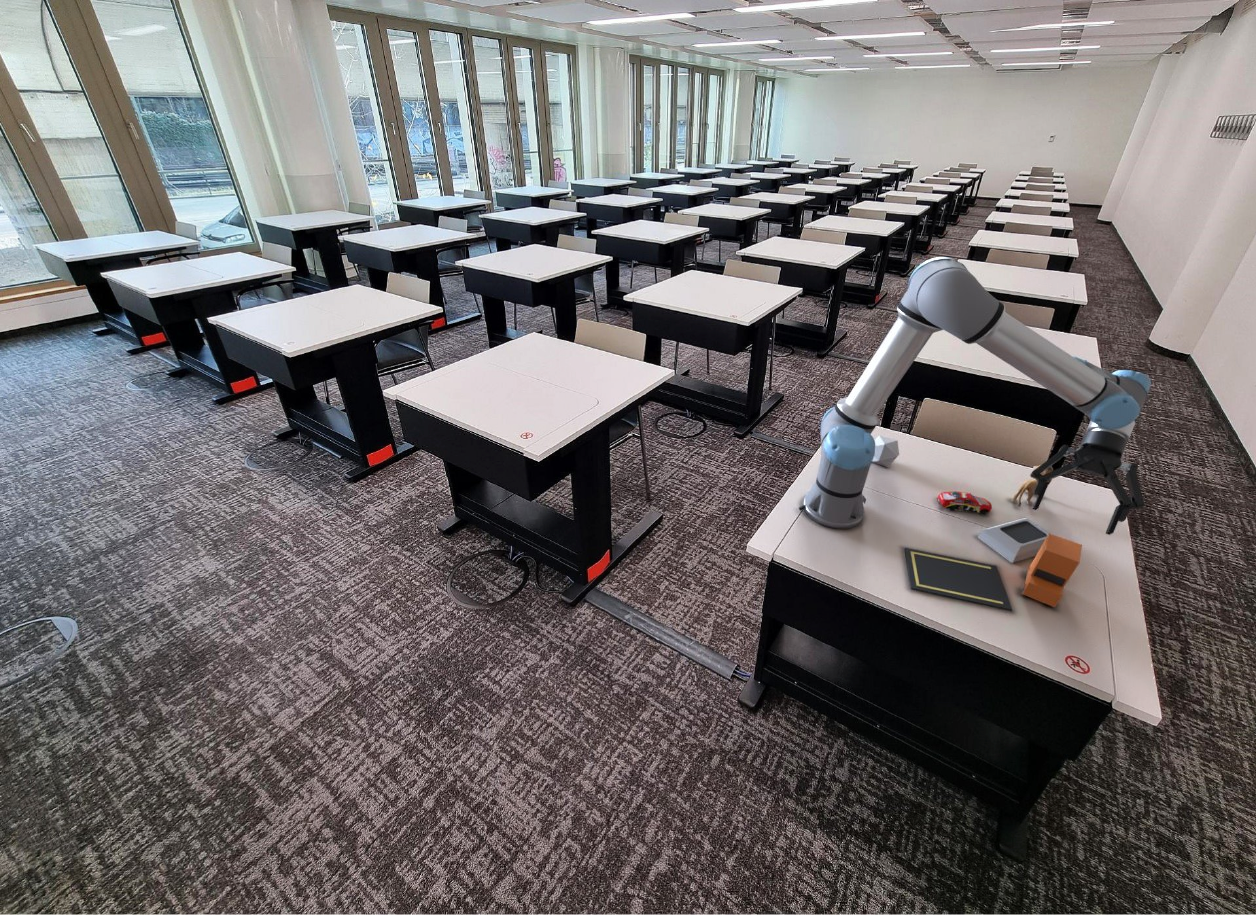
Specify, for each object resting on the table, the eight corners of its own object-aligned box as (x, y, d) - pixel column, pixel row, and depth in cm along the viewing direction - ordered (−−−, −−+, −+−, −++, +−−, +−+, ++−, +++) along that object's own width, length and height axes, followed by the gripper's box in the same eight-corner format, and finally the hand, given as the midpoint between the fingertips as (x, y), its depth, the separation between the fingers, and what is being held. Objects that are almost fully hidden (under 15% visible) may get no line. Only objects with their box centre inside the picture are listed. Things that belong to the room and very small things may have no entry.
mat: (910, 589, 120) (911, 587, 119) (904, 548, 131) (904, 547, 131) (1011, 611, 114) (1012, 609, 114) (995, 566, 126) (996, 565, 125)
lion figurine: (1025, 483, 154) (1038, 457, 149) (1046, 491, 151) (1060, 465, 146) (1007, 504, 146) (1021, 477, 141) (1029, 513, 143) (1044, 486, 138)
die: (899, 462, 164) (890, 431, 165) (906, 464, 156) (897, 431, 156) (870, 469, 167) (862, 438, 167) (875, 471, 158) (866, 438, 158)
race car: (986, 504, 146) (992, 493, 144) (993, 517, 141) (998, 505, 139) (934, 497, 148) (939, 486, 146) (939, 509, 144) (944, 497, 142)
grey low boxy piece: (983, 526, 132) (1027, 514, 136) (977, 537, 134) (1021, 525, 138) (1018, 551, 125) (1063, 537, 129) (1012, 563, 127) (1056, 548, 131)
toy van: (1052, 610, 114) (1078, 570, 108) (1020, 597, 118) (1043, 557, 111) (1057, 584, 121) (1082, 544, 114) (1026, 572, 124) (1048, 533, 118)
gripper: (1171, 460, 117) (1136, 546, 115) (1037, 425, 130) (1004, 502, 129) (1187, 449, 111) (1149, 541, 109) (1044, 414, 124) (1009, 495, 122)
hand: (1071, 520), depth 119 cm, fingers open, 13 cm apart
